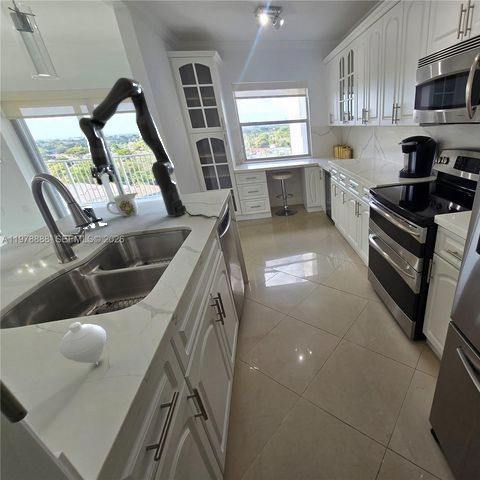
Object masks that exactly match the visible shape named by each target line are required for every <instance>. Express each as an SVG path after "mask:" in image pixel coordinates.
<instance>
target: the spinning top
mask: <svg viewBox="0 0 480 480" xmlns="http://www.w3.org/2000/svg"><path fill="white" fill-rule="evenodd" d="M68 329H69V331H67V332H66V333H65V334H64V335H63V337H62V339H61V342H60V343H59V352H60V354H61V355H62V357H64V358H66V359H67V360H70V361H74V362H79V363H85V364H95V365H96V366H99V363H98V361H99V360H100V358H101V357H102V354H103V352H104V349H105V348H106V347H105V346H106V342H107V333H106V330H105V329H104V328H103V327H102V326H100V325H97V324H92V323H85V324H81V322H79V321H78V322H77V321H76V322H73V323H71V324H70V325H69V327H68Z"/></svg>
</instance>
